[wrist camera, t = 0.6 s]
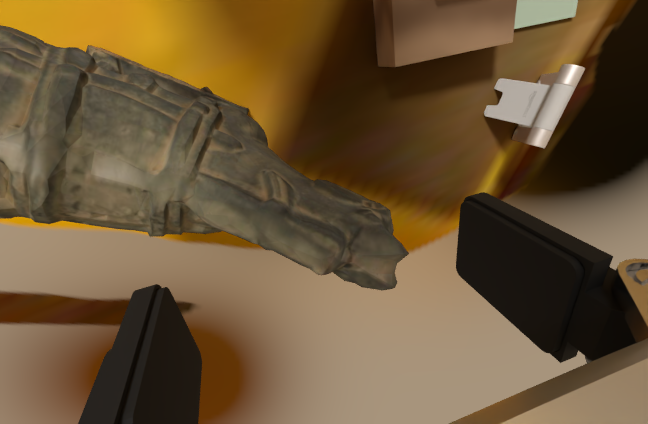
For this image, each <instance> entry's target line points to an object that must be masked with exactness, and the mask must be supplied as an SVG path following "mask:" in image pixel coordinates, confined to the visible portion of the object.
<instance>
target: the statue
mask: <svg viewBox="0 0 648 424" xmlns="http://www.w3.org/2000/svg"><path fill="white" fill-rule="evenodd" d="M248 111H249V109H248V108H245V107H241V106H239V105H236V104H234V103H232V102H229V101H227V100H225V99H223V98H221V97H219V96H217V95H214V94H213V93H212V92H211V90H210V89H209V88H208V87H204V88H202V89H198V88H196V87H193V86H191V85H189V84H188V83H186V82H184V81H181V80H178V79H175V78H173V77H172V76H170V75H167V74H163V73H160V72H158V71H155V70H152V69H149V68H146V67H144V66H143V65H141V64H139V63H136V62H134V61H131V60H129V59H126V58H124V57H121V56H119V55H117V54H114V53H112V52H109V51H107V50H105V49H102V48H97V47H94V46H89V45H88V47H87V51H86V52H84V51H82V50H81V49H79V48H71V47H69V48H60V47H55V46H53V45H50V44H47V43H44V42H43V41H42V40H40V39H38V38H36V37H34V36H31V35H29V34H26V33H24V32H21V31H19V30H16V29H13V28H10V27H6V26H1V25H0V218H13V217H26V218H31V219H32V220H34V221H35V222H38V223H46V224H51V223H55V222H58V221H62V220H63V221H69V222H75V223H82V224H88V225H94V226H101V227H108V228H115V229H127V230H136V231H143V232H148V234H149V236H164V235H165V234H180V235H181V234H182V233H183V232H189V233H201V234H207V233H214V232H221V231H225V232H227V233H230V234H233V235H235V236H238V237H240V238H242V239H245V240H247V241H249V242H252V243H254V244H258V245H260V246H261V247H263V248H264V249H266V250H273V251H275V252H277V253H279V254H280V255H282V256H285V257H286V258H288V259H290V260H292V261H294V262H296V263H298V264H300V265H302V266H305V267H307V268H310V269H311V270H312V271H314V272H315V273H316V274H318V275H326V274H329V273H331V272H333V273H334V274H336V275H337V276H339V277H340V278H341V279H343V280H344V281H349V282H352V283H356V284H357V285H359V286H361V287H365V288H372V289H378V290H387V289H392V288H395V286H396V284H397V280H396V277H395V273H394V272H395V268H396V265H397V263H398V262H399V261H401V260H402V259H403V258H404V257H405V256H407V255H408V254H409V253H408V252H407V251H406V249H405V248H404V247H403V245H402V244H401V243H400V242H399V241H398V240H397V239H396V238H395V237H394V236H393V235H392V234H393V224H392V219H391V214H390V210H389V209H387V208H386V207H384V206H383V205H381V204H380V203H376V202H374V201H371V200H368V199H367V198H365V197H363V196H361V195H359V194H356V193H354V192H352V191H350V190H348V189H346V188H343V187H341V186H339V185H337V184H334V183H331V182H329V181H326V180H315V181H313V180H311V179H309V178H307V177H305V176H304V175H302V174H301V173H299V172H298V171H296V170H295V169H294V168H292V167H291V166H289V165H288V164H286V163H285V162H284V161H283V160H282V159H281V158H279V157H278V156H277V155H276V154H275V153H274V152H273V151H272V150H271V149H269V148H268V143H267V138H266V135H265V132H264V130H263V129H262V128H261V126H260V125H259V124H258V123H257V122H256V121H254V120H253V119H252V118H251V117H249V116H248V115H247V114H248Z"/></svg>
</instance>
